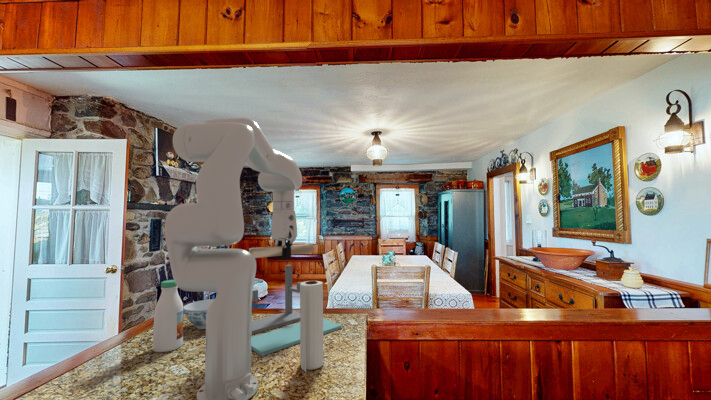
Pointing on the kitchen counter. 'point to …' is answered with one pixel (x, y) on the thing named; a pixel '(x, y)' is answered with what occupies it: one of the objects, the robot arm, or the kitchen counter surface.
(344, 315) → the kitchen counter surface
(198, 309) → the chinaware
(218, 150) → the robot arm
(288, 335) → the mat
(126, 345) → the kitchen counter surface
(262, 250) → the rail
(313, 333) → the paper towel roll
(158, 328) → the milk bottle
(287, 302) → the rack
